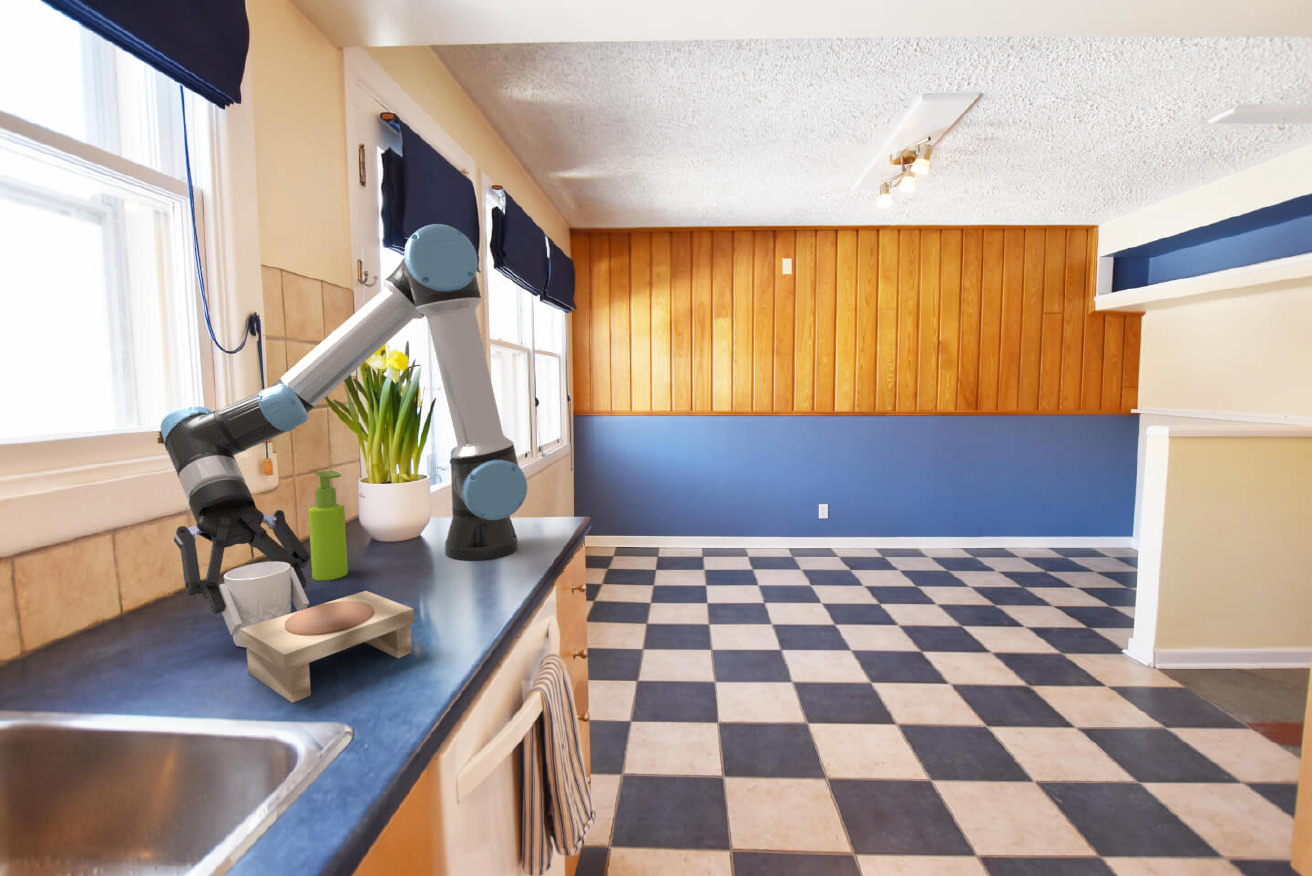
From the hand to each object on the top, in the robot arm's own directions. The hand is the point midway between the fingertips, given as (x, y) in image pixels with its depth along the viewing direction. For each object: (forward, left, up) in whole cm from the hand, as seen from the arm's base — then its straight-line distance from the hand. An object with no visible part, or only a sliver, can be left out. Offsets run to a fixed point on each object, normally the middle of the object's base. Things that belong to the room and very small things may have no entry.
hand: (271, 618), depth 81 cm
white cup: (0, -3, -4) cm, 5 cm away
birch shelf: (-2, +13, -4) cm, 13 cm away
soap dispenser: (-19, -22, -4) cm, 30 cm away
